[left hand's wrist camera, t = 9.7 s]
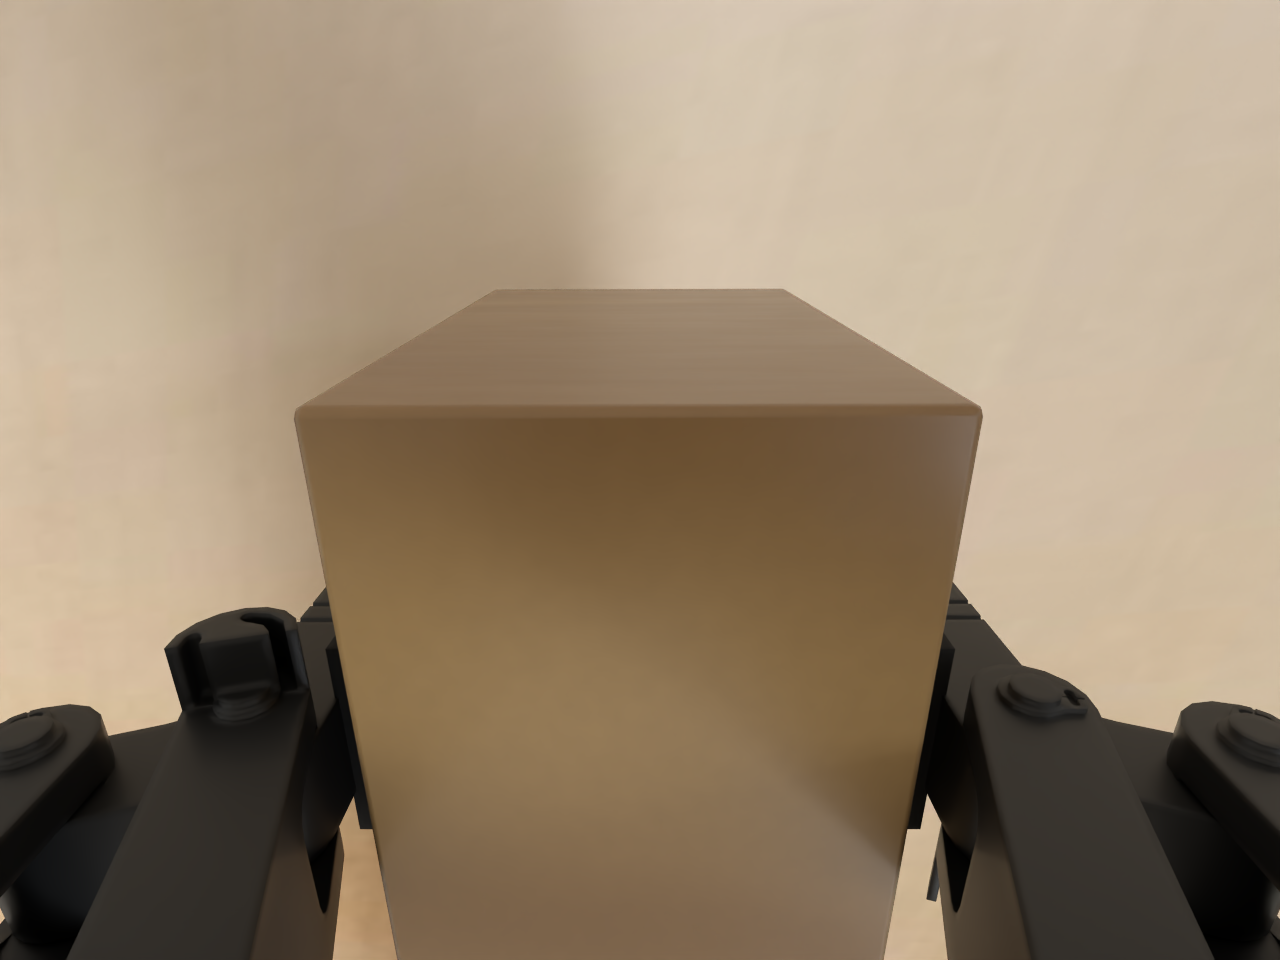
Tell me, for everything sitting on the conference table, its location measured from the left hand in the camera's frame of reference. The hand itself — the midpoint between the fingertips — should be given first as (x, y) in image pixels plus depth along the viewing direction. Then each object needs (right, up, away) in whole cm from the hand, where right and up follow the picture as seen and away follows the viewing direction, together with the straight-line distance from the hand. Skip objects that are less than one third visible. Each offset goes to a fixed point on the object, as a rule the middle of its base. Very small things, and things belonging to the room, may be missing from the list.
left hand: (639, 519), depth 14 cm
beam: (0, -27, +11) cm, 29 cm away
